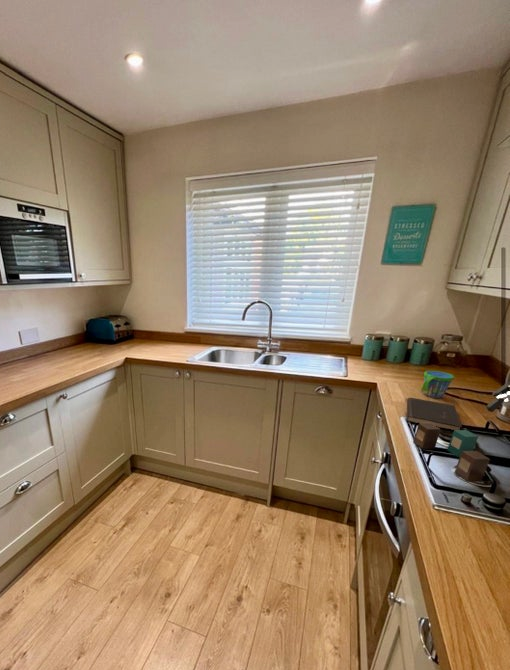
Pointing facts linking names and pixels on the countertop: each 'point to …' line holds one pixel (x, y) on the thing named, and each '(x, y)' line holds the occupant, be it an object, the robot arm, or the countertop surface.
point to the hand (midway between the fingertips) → (502, 415)
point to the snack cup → (436, 383)
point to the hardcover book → (433, 413)
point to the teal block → (462, 442)
